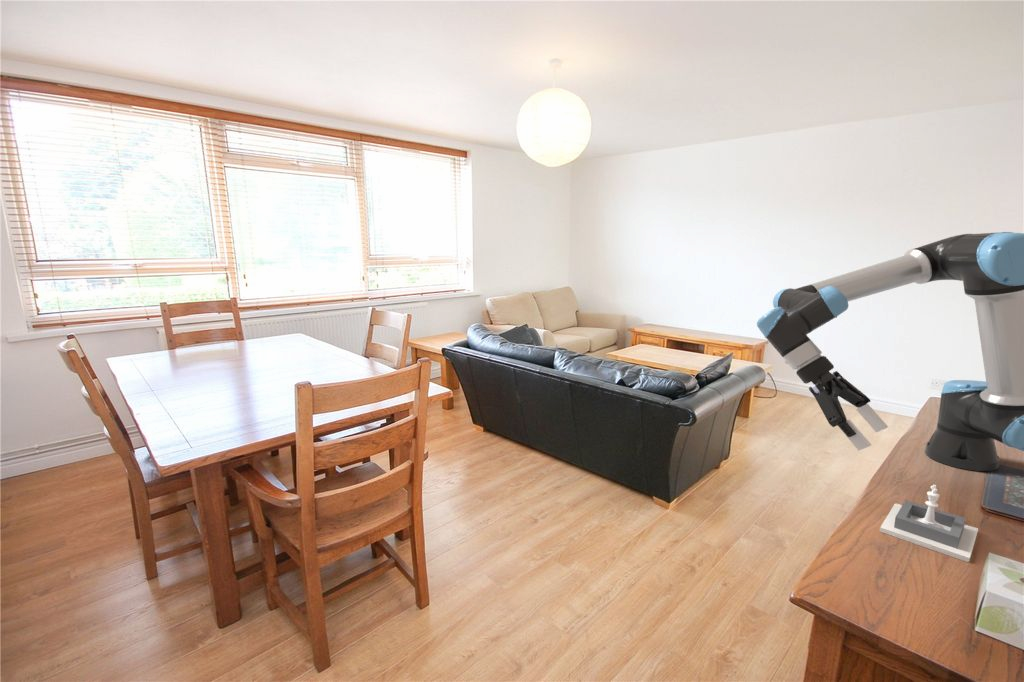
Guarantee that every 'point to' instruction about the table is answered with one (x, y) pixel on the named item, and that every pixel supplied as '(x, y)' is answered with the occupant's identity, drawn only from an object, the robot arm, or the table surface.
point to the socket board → (931, 530)
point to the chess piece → (931, 508)
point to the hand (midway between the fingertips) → (874, 438)
